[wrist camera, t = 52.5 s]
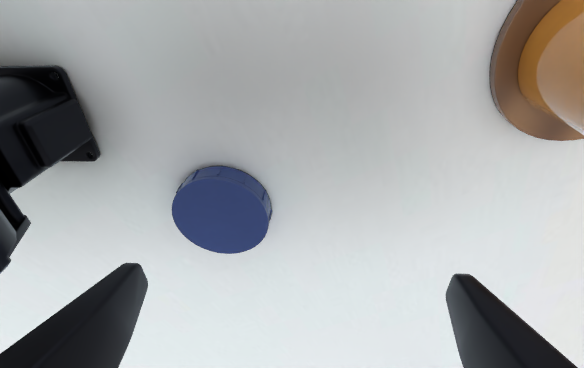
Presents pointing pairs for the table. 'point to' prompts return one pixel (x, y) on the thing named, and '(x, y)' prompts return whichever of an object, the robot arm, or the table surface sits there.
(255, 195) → the jar lid
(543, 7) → the coaster
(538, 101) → the jar
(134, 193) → the table surface
